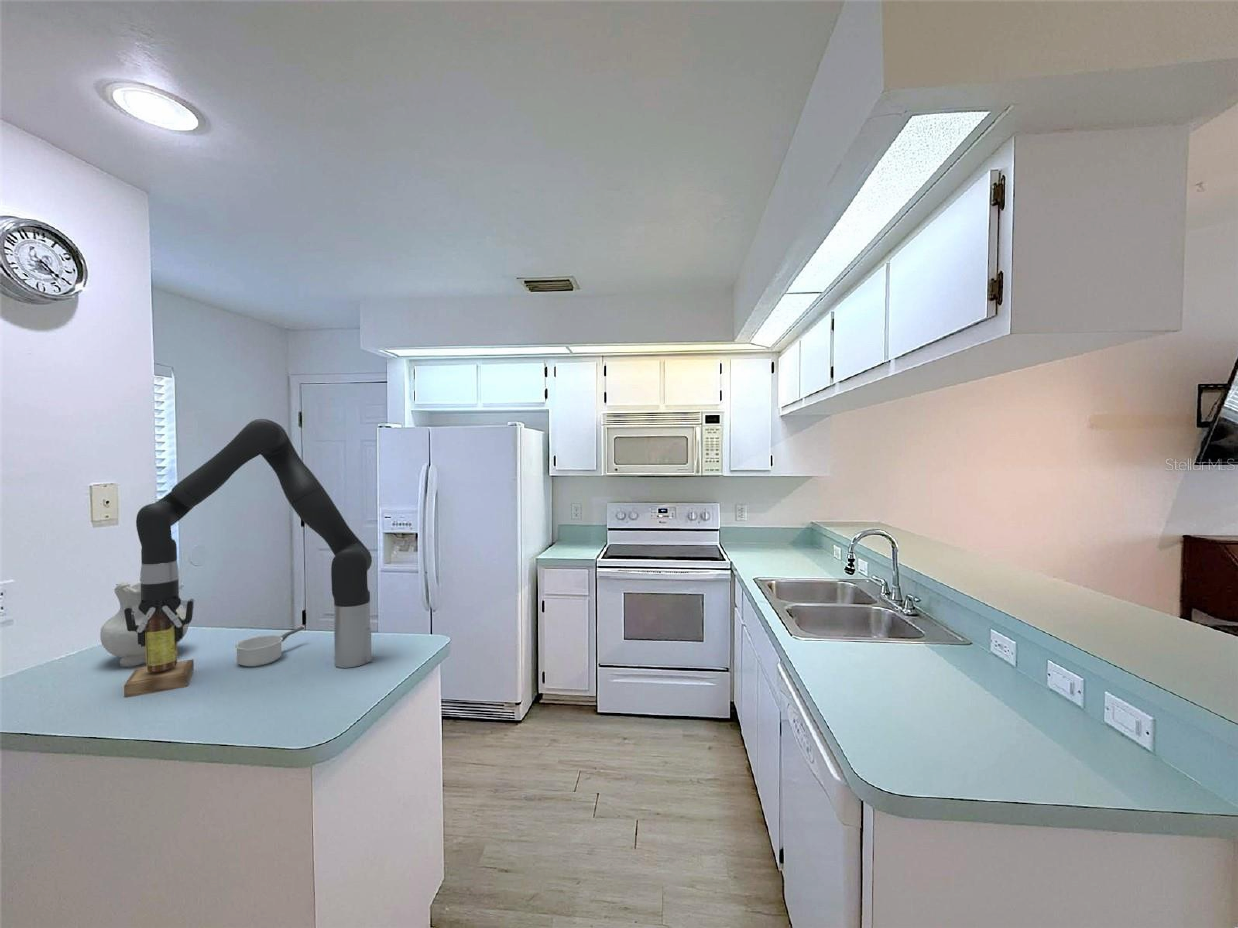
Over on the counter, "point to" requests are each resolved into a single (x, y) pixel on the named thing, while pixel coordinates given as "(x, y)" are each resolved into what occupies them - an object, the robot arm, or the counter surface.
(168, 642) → the sauce bottle
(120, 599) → the ceramic pitcher
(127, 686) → the walnut base block
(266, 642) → the saucepan
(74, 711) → the counter surface
